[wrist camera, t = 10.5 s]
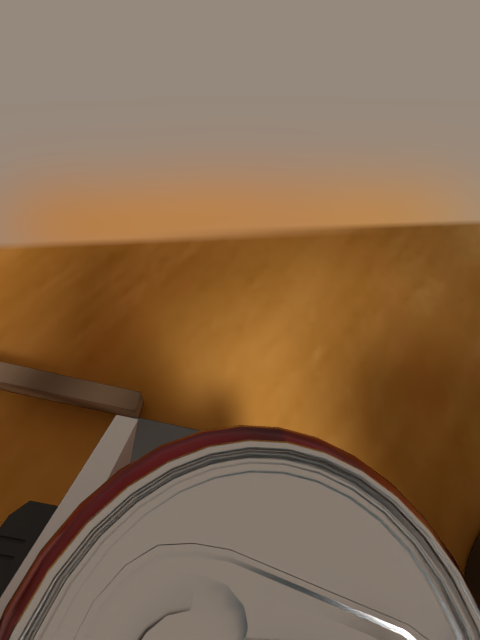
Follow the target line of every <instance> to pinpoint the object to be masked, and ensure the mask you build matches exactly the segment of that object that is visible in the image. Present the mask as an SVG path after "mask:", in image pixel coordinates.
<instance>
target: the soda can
mask: <svg viewBox="0 0 480 640" xmlns="http://www.w3.org/2000/svg"><path fill="white" fill-rule="evenodd" d="M0 640H480V607H479V605H478V603H477V601H476V599H475V597H474V595H473V593H472V592H471V590H470V588H469V586H468V584H467V582H466V580H465V578H464V576H463V575H462V573H461V571H460V569H459V567H458V565H457V563H456V561H455V559H454V558H453V556H452V555H451V554H450V552H449V551H448V549H447V548H446V547H445V545H444V544H443V542H442V541H441V540H440V538H439V537H438V535H437V534H436V533H435V531H434V530H433V529H432V527H431V526H430V524H429V523H428V522H427V520H426V519H425V517H424V516H423V515H422V514H421V513H420V512H419V511H418V510H417V509H416V508H415V507H414V506H413V505H412V504H411V503H410V502H409V501H408V500H407V499H406V498H405V497H404V496H403V495H402V494H401V493H400V491H399V490H398V489H397V488H396V487H395V486H394V485H393V484H392V483H391V482H389V481H388V480H386V479H385V478H384V477H382V476H381V475H380V474H378V473H377V472H376V471H374V470H373V469H372V468H370V467H369V466H367V465H366V464H365V463H363V462H362V461H361V460H359V459H358V458H357V457H355V456H354V455H352V454H350V453H348V452H346V451H344V450H342V449H340V448H338V447H336V446H334V445H331V444H329V443H327V442H325V441H323V440H321V439H319V438H317V437H314V436H310V435H306V434H302V433H299V432H295V431H291V430H287V429H284V428H280V427H265V426H248V425H238V426H231V427H224V428H217V429H210V430H204V431H199V432H196V433H194V434H191V435H188V436H185V437H183V438H180V439H177V440H174V441H171V442H169V443H166V444H163V445H160V446H159V447H157V448H155V449H154V450H152V451H150V452H149V453H147V454H145V455H143V456H142V457H140V458H138V459H137V460H135V461H133V462H132V463H130V464H128V465H127V466H125V467H123V468H121V469H120V470H119V471H117V472H116V473H115V474H114V475H113V476H112V477H110V478H109V479H108V480H107V481H106V482H105V483H103V484H102V485H101V486H100V487H99V488H98V489H96V490H95V491H94V492H93V493H92V494H91V495H89V496H88V497H87V498H86V499H85V500H84V501H82V502H81V503H80V504H79V505H78V506H77V508H76V509H75V510H74V511H73V512H72V514H71V515H70V516H69V517H68V518H67V519H66V521H65V522H64V523H63V524H62V525H61V527H60V528H59V529H58V530H57V531H56V532H55V534H54V535H53V536H52V537H51V538H50V540H49V541H48V542H47V543H46V544H45V545H44V547H43V548H42V549H41V550H40V552H39V554H38V555H37V557H36V559H35V560H34V562H33V563H32V565H31V567H30V568H29V570H28V572H27V573H26V575H25V576H24V578H23V580H22V581H21V583H20V585H19V586H18V588H17V589H16V591H15V593H14V594H13V596H12V598H11V599H10V601H9V602H8V604H7V606H6V607H5V609H4V611H3V614H2V616H1V618H0Z"/></svg>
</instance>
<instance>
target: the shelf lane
mask: <svg viewBox="0 0 480 640" xmlns="http://www.w3.org/2000/svg"><path fill="white" fill-rule="evenodd" d="M0 390H5V391H9V392H14V393H19V394H23V395H28V396H33V397H38V398H42V399H47V400H52V401H56V402H61V403H66V404H70V405H75V406H80V407H84V408H89V409H94V410H99V411H103V412H108V413H113V414H117V415H122V416H127V417H131V418H133V417H138V418H139V415H140V412H141V409H142V406H143V402H144V401H143V398H142V394H141V392H138V391H133V390H128V389H124V388H119V387H115V386H110V385H106V384H101V383H96V382H92V381H87V380H83V379H78V378H73V377H69V376H64V375H60V374H55V373H51V372H46V371H41V370H37V369H32V368H28V367H23V366H18V365H14V364H9V363H5V362H0Z"/></svg>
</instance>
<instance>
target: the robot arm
mask: <svg viewBox="0 0 480 640" xmlns="http://www.w3.org/2000/svg"><path fill="white" fill-rule="evenodd" d="M137 422H138V419H134V418H129V417H124V416H120V415H116V416H115V418H114V419H113V421H112V422H111V424H110V426H109V427H108V429H107V430H106V432H105V433H104V435H103V437H102V438H101V440H100V441H99V443H98V445H97V446H96V448H95V449H94V451H93V452H92V454H91V456H90V457H89V459H88V460H87V462H86V463H85V465H84V467H83V468H82V470H81V471H80V473H79V474H78V476H77V478H76V479H75V481H74V482H73V484H72V486H71V487H70V489H69V490H68V492H67V493H66V495H65V497H64V498H63V500H62V501H61V503H60V504H59V506H54V505H49V504H44V503H39V502H34V501H29V502H28V503H26V504H25V505H23V506H22V507H20V508H19V509H18V510H16V511H15V512H13V513H12V514H11V515H9V517H8V518H7V519H6V520H5V522H4V523H3V524H2V526H1V527H0V618H1V616H2V614H3V611H4V609H5V607H6V606H7V604H8V602H9V601H10V599H11V598H12V596H13V594H14V593H15V591H16V589H17V588H18V586H19V585H20V583H21V581H22V580H23V578H24V576H25V575H26V573H27V572H28V570H29V568H30V567H31V565H32V563H33V562H34V560H35V559H36V557H37V555H38V554H39V552H40V550H41V549H42V548H43V547H44V545H45V544H46V543H47V542H48V541H49V540H50V538H51V537H52V536H53V535H54V534H55V532H56V531H57V530H58V529H59V528H60V527H61V525H62V524H63V523H64V522H65V521H66V519H67V518H68V517H69V516H70V515H71V514H72V512H73V511H74V510H75V509H76V508H77V506H78V505H79V504H80V503H81V502H82V501H84V500H85V499H86V498H87V497H88V496H89V495H91V494H92V493H93V492H94V491H95V490H96V489H98V488H99V487H100V486H101V485H102V484H103V483H105V482H106V481H107V480H108V479H109V478H110V477H112V476H113V475H114V474H115V473H116V472H117V471H119V470H120V469H121V468H123V467H125V466H127V465H128V464H130V460H131V455H132V449H133V444H134V439H135V433H136V428H137ZM465 580H466V582H467V584H468V586H469V588H470V590H471V592H472V593H473V595H474V597H475V599H476V601H477V603H478V605H479V607H480V534H479V535H478V537H477V539H476V541H475V544H474V546H473V548H472V551H471V554H470V557H469V560H468V564H467V568H466V573H465Z"/></svg>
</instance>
